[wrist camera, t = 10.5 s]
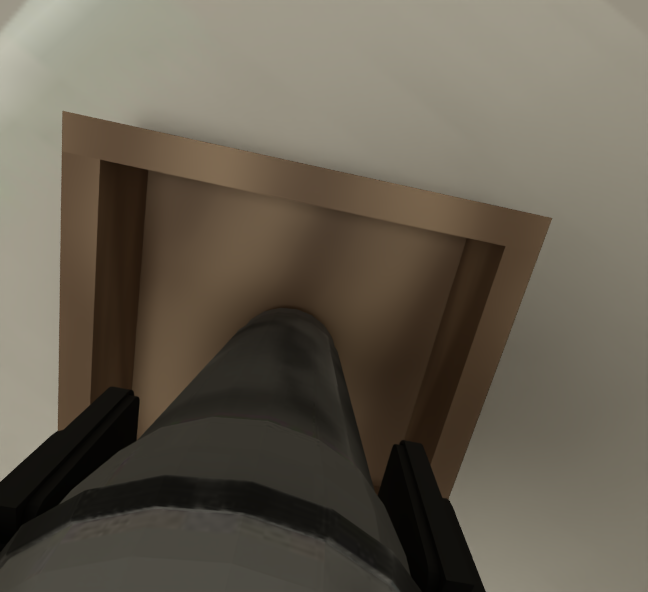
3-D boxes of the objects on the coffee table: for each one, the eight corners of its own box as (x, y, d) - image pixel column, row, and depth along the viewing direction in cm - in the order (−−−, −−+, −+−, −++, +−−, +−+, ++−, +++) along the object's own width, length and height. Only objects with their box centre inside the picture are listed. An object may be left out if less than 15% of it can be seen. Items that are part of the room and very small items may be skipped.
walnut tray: (494, 209, 17) (552, 218, 13) (401, 495, 21) (420, 574, 17) (133, 130, 16) (62, 110, 12) (113, 445, 20) (56, 515, 16)
